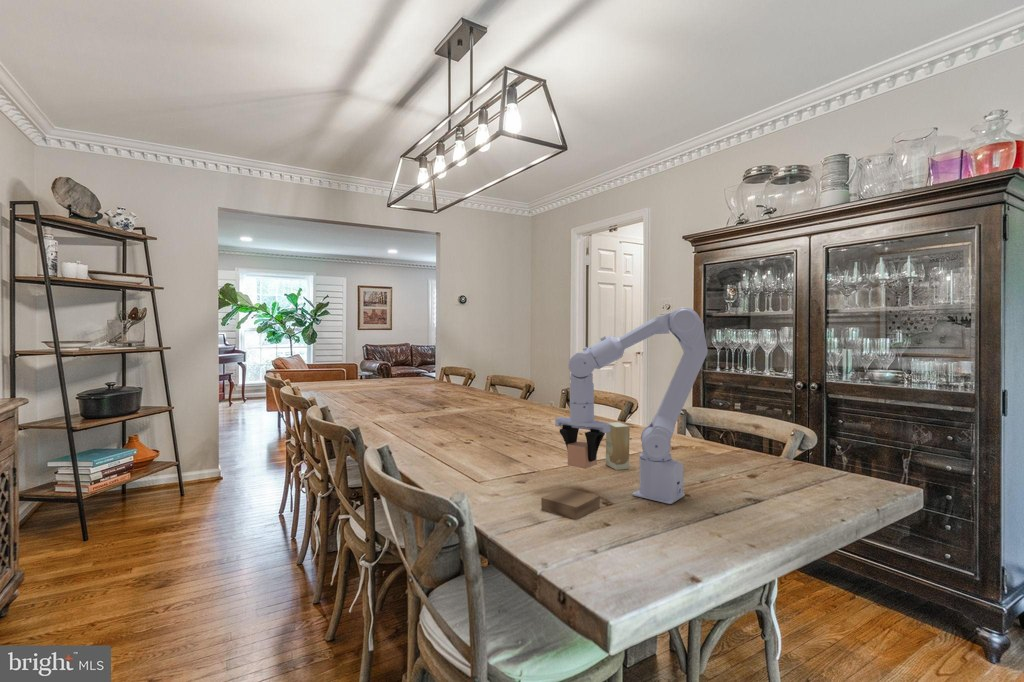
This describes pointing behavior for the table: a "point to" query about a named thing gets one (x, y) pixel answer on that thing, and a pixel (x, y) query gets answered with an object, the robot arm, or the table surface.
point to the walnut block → (570, 503)
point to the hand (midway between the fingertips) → (582, 458)
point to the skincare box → (617, 446)
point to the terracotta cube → (579, 455)
